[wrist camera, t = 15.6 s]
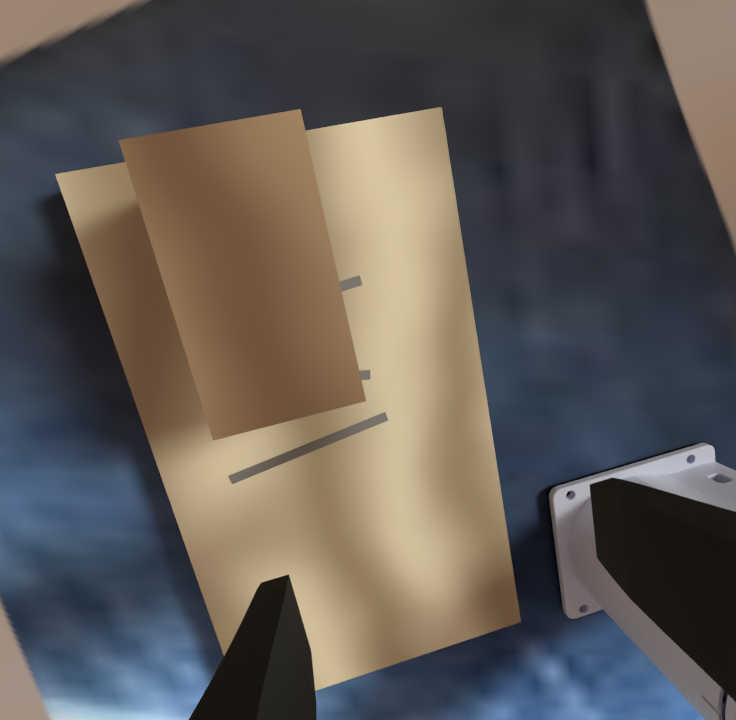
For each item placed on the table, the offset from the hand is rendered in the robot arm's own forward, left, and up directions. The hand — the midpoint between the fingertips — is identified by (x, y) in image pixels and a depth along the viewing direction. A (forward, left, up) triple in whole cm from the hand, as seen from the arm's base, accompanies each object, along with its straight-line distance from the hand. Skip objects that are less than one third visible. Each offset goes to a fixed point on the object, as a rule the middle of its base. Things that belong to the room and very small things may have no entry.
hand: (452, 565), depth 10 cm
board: (+2, 0, -10) cm, 11 cm away
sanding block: (+3, -7, -9) cm, 12 cm away
